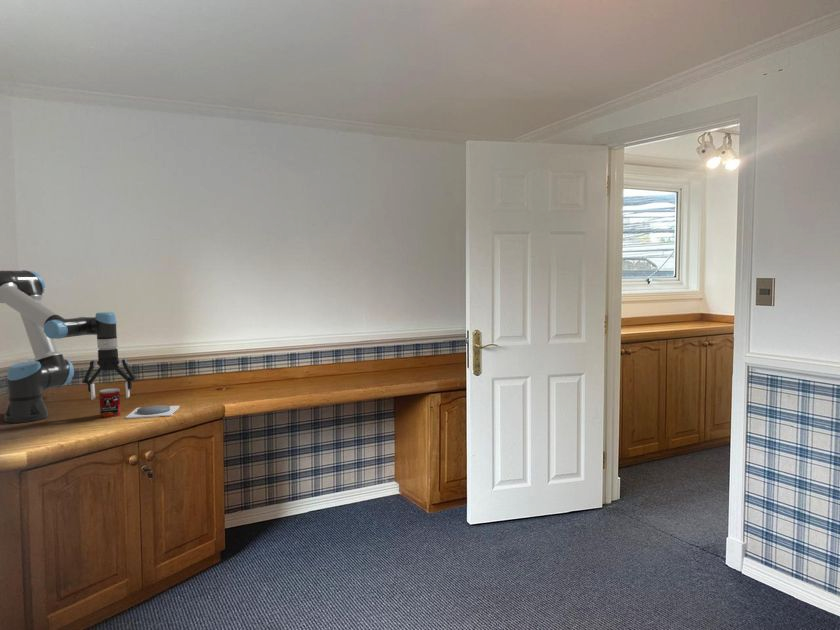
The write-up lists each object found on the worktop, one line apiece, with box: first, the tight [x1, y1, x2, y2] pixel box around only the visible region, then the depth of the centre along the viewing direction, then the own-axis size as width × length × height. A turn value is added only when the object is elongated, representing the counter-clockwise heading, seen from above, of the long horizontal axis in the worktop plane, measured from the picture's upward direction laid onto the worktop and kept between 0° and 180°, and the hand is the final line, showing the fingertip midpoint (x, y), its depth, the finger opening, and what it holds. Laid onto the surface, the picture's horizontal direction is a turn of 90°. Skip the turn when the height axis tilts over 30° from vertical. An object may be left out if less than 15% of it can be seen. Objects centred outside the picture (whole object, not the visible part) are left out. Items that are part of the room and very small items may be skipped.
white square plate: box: [125, 404, 180, 420], centre depth 256 cm, size 18×18×2 cm
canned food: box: [98, 387, 122, 418], centre depth 251 cm, size 8×8×11 cm
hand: (110, 398), depth 251 cm, fingers open, 13 cm apart
